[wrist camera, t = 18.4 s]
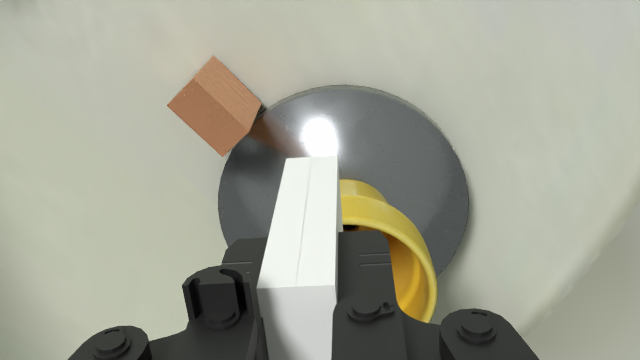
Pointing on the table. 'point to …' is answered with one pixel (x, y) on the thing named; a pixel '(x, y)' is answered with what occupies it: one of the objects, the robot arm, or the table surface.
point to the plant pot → (394, 246)
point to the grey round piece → (327, 152)
